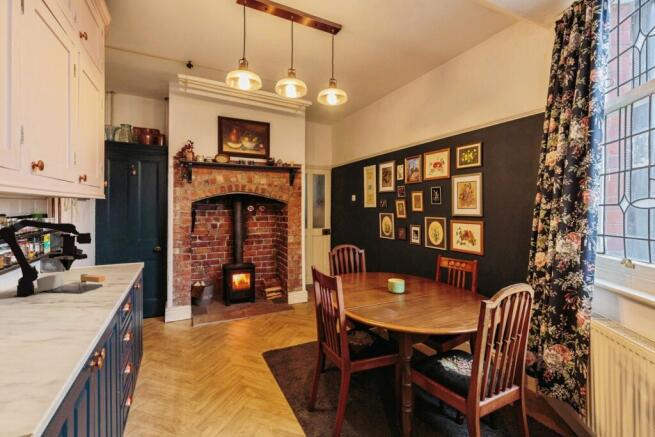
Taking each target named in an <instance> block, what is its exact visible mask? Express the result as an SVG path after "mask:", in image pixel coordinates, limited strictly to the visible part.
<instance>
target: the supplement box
mask: <svg viewBox="0 0 655 437" xmlns="http://www.w3.org/2000/svg"><path fill="white" fill-rule="evenodd" d="M63 285H65V284H64V277H63V273H57V274H51V275H50V274H49V275H46V276H42V277H40V278H39V277H38V278H37V279H36V286H37V292H43V291H44V292H45V291H47V290H51V289H55V288H57V287H60V286H63Z"/></svg>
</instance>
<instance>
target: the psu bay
mask: <svg viewBox="0 0 655 437" xmlns="http://www.w3.org/2000/svg"><path fill="white" fill-rule="evenodd" d="M102 287H103V284H101V283H99V284H98V283H87V281H81V280H80V281H74V282H71V283H67V284H64V285H62V286H60V287H57V288H55V289H51V290H46V293H48V294H50V293H51V294H52V293H53V294H85V293H88V292H90V291H92V290H96V289H99V288H102Z"/></svg>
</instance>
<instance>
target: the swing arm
mask: <svg viewBox="0 0 655 437" xmlns="http://www.w3.org/2000/svg"><path fill="white" fill-rule="evenodd" d="M81 281H86V282H92V283H97V284H98V283H99V284H100V283H102V282H106V276H105V275H98V274H97V275H96V274H95V275H94V274H88V273H86V274H85V273H83V274H80V282H81Z"/></svg>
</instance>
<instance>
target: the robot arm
mask: <svg viewBox="0 0 655 437" xmlns="http://www.w3.org/2000/svg"><path fill="white" fill-rule="evenodd" d="M26 227H27V228H28V227H29V228H36V229H37V228H38V229H45V230H53V231H58V232H60V234H59V235H58V237H59V238H62V239H61V240H62V241H61V242H62V244H61V245H60V249H61V252H51V253H49V254H48V256H47V258H48V259H55V258H57V259H58V261H59V262H60V263H61V265H62V266H63V268H64V269H65V271H70V269H71V267H72V266H73V263H74V262H75V261H76V260H77V261H78V260H79V261H80V260H81V261H82V260H85V259H88V254H87V253H83V252H84V250H83V249H82V248H78V247H77V245H76V243H78V245H90V244H91V243H92V236H91V235H92V234H91V232H79V231H78V230H77V227H76V225H75V224H74V223H70V222H67V223H66V222H64V223H63V222H57V223H56V222H48V221H47V222H46V221H40V220H32V219H27V218H24V219H21V220H20V221H18V222H15V223H14V224H11V225H10V226H6V225H5V226H3V227H1V228H0V238H1V239H2V241H4V242H5V243H6V244H7V246H8V247H9V249H10V251H11V253H12V254H13V256H14V258H15V260H16V262H17V264H18V265H19V267H20V271H21V274H22V276H21V277H20V278H19V279H17V285H16V294H15V295H13V296H14V298H15V297H17V298H18V297H19V298H27V297H30V296H34V295H37V292H35V283H34V282H35V281H37V279H39V274H40V273H39V270H38V269H37V266H36V265H33V266H32V265H31V264H30V263H29V260H28V259H27V257H26V255H25V252H24V251H23V249H22V248H21V246H20V244H19V242H18V239H17V235H16V233H17V232H19V231H21V230H22V229H24V228H26ZM71 234H72V235H71Z"/></svg>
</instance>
